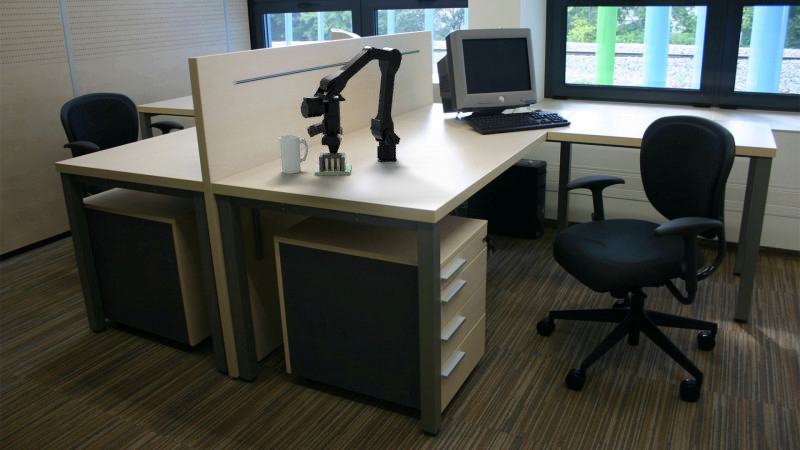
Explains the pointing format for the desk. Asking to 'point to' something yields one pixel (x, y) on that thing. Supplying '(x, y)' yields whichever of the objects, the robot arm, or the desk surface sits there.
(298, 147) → the mug
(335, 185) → the desk surface
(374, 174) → the desk surface
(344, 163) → the grey c-shaped bracket
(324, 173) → the board
